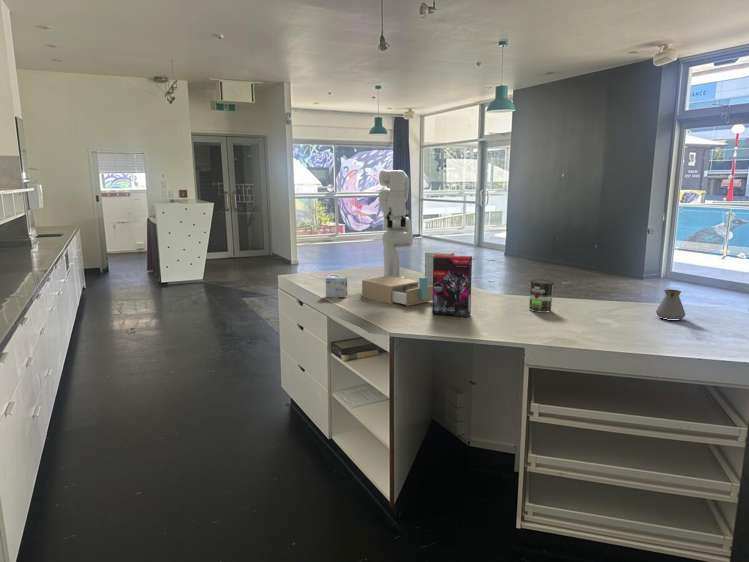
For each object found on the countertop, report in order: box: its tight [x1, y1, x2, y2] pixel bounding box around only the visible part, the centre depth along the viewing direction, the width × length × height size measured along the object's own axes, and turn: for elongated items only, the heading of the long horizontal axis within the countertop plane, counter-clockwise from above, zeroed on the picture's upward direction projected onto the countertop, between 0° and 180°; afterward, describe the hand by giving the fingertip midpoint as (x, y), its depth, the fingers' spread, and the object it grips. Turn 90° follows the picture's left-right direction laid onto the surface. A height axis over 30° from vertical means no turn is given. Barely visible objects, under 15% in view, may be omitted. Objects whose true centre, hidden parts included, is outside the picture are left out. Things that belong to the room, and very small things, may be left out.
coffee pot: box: [655, 288, 686, 320], centre depth 224 cm, size 21×12×15 cm, turn 149°
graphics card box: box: [431, 254, 473, 318], centre depth 234 cm, size 17×7×27 cm, turn 70°
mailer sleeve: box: [361, 275, 419, 305], centre depth 270 cm, size 20×22×9 cm
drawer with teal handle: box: [392, 276, 433, 307], centre depth 260 cm, size 19×24×13 cm
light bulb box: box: [325, 275, 348, 298], centre depth 272 cm, size 11×7×11 cm, turn 84°
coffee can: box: [528, 278, 554, 312], centre depth 243 cm, size 10×10×14 cm
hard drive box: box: [424, 251, 455, 286], centre depth 297 cm, size 16×8×20 cm, turn 58°
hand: (396, 227), depth 272 cm, fingers open, 9 cm apart
